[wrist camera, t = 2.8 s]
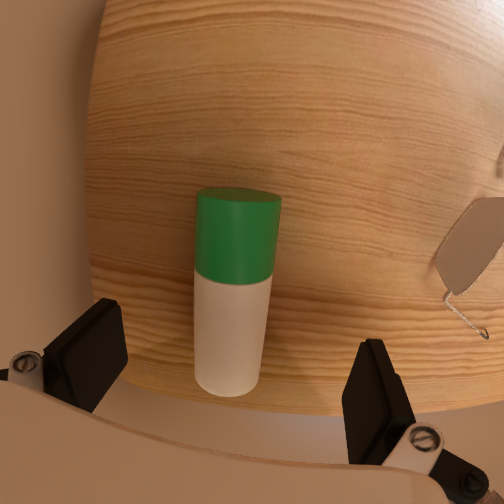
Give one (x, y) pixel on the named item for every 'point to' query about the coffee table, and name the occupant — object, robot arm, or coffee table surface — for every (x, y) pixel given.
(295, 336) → the coffee table surface
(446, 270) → the eyeglasses
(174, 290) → the coffee table surface
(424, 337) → the coffee table surface
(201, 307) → the marker
